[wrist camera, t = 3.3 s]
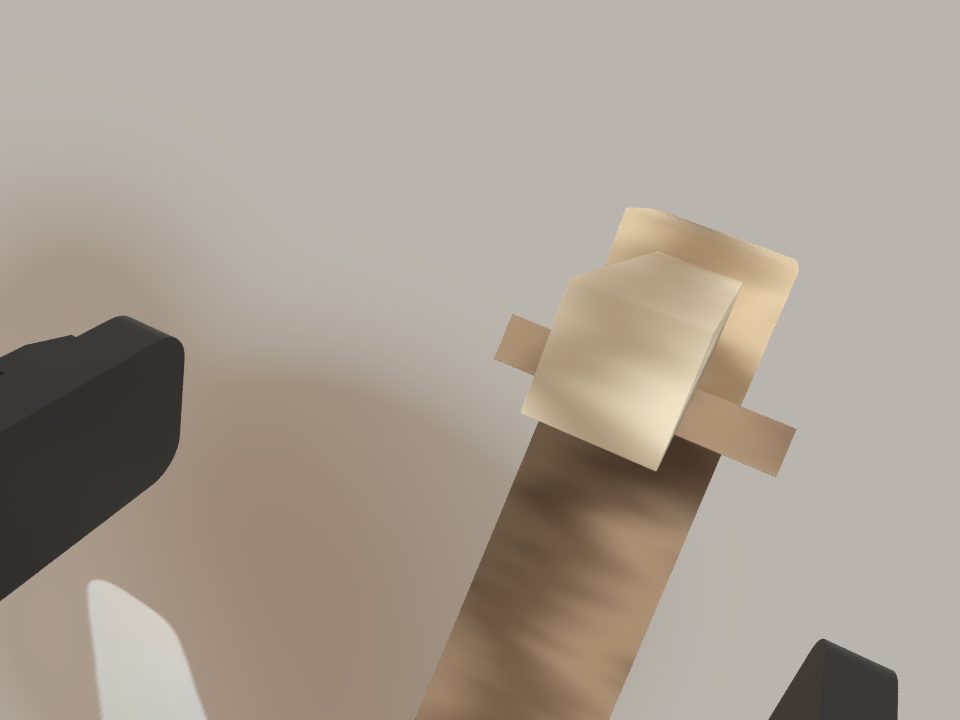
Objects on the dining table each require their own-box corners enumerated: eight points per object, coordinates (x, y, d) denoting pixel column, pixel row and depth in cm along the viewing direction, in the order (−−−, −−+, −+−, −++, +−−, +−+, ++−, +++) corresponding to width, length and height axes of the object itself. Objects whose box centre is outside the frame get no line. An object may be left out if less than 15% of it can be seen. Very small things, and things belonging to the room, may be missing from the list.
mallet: (746, 374, 37) (796, 259, 36) (708, 546, 18) (811, 313, 17) (611, 320, 39) (654, 208, 37) (441, 427, 20) (518, 204, 18)
